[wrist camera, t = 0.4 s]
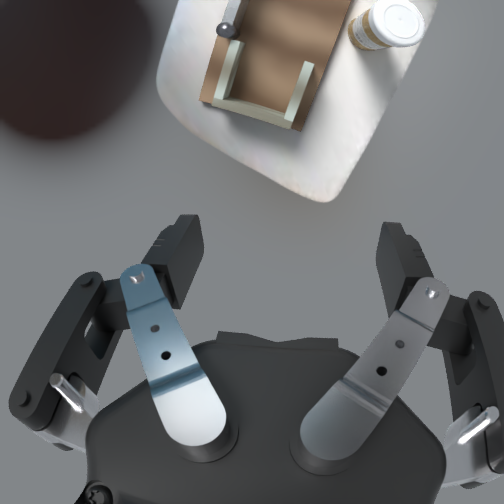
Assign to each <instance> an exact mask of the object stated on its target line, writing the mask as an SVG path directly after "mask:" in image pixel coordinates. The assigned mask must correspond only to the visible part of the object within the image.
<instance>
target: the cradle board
mask: <svg viewBox="0 0 504 504" xmlns="http://www.w3.org/2000/svg"><path fill="white" fill-rule="evenodd" d="M350 2H351V0H249V3H248V5H247V8H246V11H245V14H244V17H243V20H242V22H241V25H240V28H239V30H240V36H239V37H238V38H237V39H235V40H232V39H231V40H230V39H226V38H223V37H220V36H219V35H218V36H217V39H216V42H215V45H214V48H213V52H212V55H211V58H210V62H209V65H208V69H207V72H206V76H205V79H204V83H203V86H202V90H201V94H200V98H199V101H203V102H207V103H211V104H212V105H211V106H214V107H218V108H222V109H225V110H229V111H232V112H236V113H239V114H243V115H246V116H249V117H252V118H256V119H259V120H262V121H265V122H268V123H271V124H274V125H277V126H280V127H283V128H286V129H289V130H290V128H292V129H295V130H298V131H300V132H301V130H302V127H303V125H304V122H305V119H306V117H307V114H308V112H309V109H310V106H311V104H312V101H313V99H314V96H315V94H316V91H317V88H318V86H319V83H320V80H321V78H322V75H323V73H324V70H325V67H326V65H327V62H328V60H329V57H330V54H331V52H332V49H333V47H334V44H335V41H336V39H337V36H338V34H339V31H340V28H341V26H342V23H343V21H344V18H345V15H346V13H347V10H348V7H349V5H350Z"/></svg>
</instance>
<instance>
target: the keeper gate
mask: <svg viewBox="0 0 504 504" xmlns="http://www.w3.org/2000/svg"><path fill="white" fill-rule="evenodd" d="M248 3H249V0H229V2H228V4H227V7H226V10H225V13H224V16H223V19H222V22H221V23H220V24H219V25H218V26H217V28H216V32H217V34H218V35H219V36H220V37H223V38H226V39H230V40H231V39H232V40H235V39H237V38H238V37H239V36H240V30H239V28H240V25H241V22H242V20H243V17H244V14H245V11H246V8H247V5H248Z"/></svg>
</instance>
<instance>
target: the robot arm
mask: <svg viewBox="0 0 504 504" xmlns="http://www.w3.org/2000/svg"><path fill="white" fill-rule="evenodd" d="M203 253H204V243H203V237H202V231H201V226H200V220H199V217H198V215H180V216H179V218H178V219H177V221H176V223H175V224H174V225H170V226H168V227H167V228H165V229H164V230H163V231H161V233H160V234H159V236H158V237H157V240H155V242H154V243H153V246H152V247H151V248H150V250H149V251H148V253H147V254H146V256H145V257H144V259H143V260H142V262H141V264H136V265H133V266H130V267H129V268H127V269H126V270H125V271H124V272H123V273H122V274H121V276H120V278H119V279H114V280H107V281H104V280H103V278H102V276H101V275H100V274H99V273H98V272H88V273H85V274H83V275H81V276H80V277H78V278H77V279H76V280H75V282H74V283H73V285H72V286H71V288H70V289H69V291H68V292H67V294H66V295H65V297H64V299H63V300H62V301H61V303H60V305H59V306H58V308H57V309H56V311H55V313H54V314H53V316H52V318H51V319H50V321H49V323H48V324H47V326H46V328H45V330H44V331H43V333H42V335H41V336H40V338H39V340H38V342H37V343H36V345H35V347H34V349H33V351H32V353H31V354H30V356H29V358H28V360H27V362H26V364H25V366H24V368H23V370H22V372H21V374H20V376H19V378H18V380H17V382H16V384H15V386H14V388H13V390H12V392H11V395H10V398H9V409H10V412H11V413H12V415H13V416H14V417H16V418H17V419H18V420H19V421H21V422H22V423H23V424H25V425H26V426H27V427H28V428H29V429H30V430H31V431H33V432H34V433H35V434H37V435H38V436H40V437H41V438H43V439H44V440H46V441H47V442H49V443H52V444H54V445H55V446H56V447H58V448H60V449H62V450H65V451H68V450H73V449H76V450H79V451H81V452H84V453H86V455H87V465H88V466H87V468H88V469H87V482H86V486H85V488H84V490H83V492H82V494H81V495H80V497H79V498H78V500H77V501H76V502H75V503H74V504H434V501H435V499H436V496H437V494H438V491H439V490H440V488H445V487H450V486H455V485H461V486H462V487H463V488H466V489H472V488H475V487H477V486H480V485H482V484H484V483H487V482H489V481H491V480H493V479H495V478H497V477H499V476H501V475H503V474H504V322H503V319H502V316H501V314H500V311H499V309H498V306H497V304H496V302H495V301H494V299H492V297H490V296H489V295H488V294H486V293H484V292H481V291H474V292H472V293H471V294H470V295H469V297H468V299H467V300H466V299H463V298H459V297H455V296H452V295H450V293H449V289H448V287H447V286H446V285H445V284H444V283H443V282H442V281H440V280H438V279H436V278H434V276H433V274H432V271H431V269H430V267H429V264H428V262H427V260H426V258H425V256H424V253H423V252H422V249H421V247H420V245H419V243H418V241H416V239H414V238H413V237H412V236H411V235H406V234H405V232H404V229H403V227H402V225H401V223H394V222H383V224H382V228H381V233H380V238H379V242H378V247H377V253H376V266H377V270H378V274H379V278H380V282H381V286H382V290H383V294H384V299H385V303H386V308H387V312H388V317H389V319H388V321H387V322H386V324H385V325H384V326H383V328H382V329H381V331H380V332H379V333H378V335H377V336H376V337H375V339H374V340H373V341H372V342H371V344H370V345H369V346H368V348H367V349H366V350H365V351H364V353H363V354H362V355H361V357H359V356H358V355H356V354H355V353H353V352H350V351H348V350H345V349H342V348H339V347H338V339H336V338H334V339H333V338H303V339H297V340H291V341H284V342H273V341H270V340H266V339H263V338H260V337H256V336H253V335H249V334H245V333H232V332H223V331H222V332H221V331H218V334H217V338H216V340H211V341H206V342H203V343H200V344H197V345H195V346H193V347H190V345H189V343H188V341H187V339H186V337H185V335H184V333H183V331H182V329H181V327H180V325H179V323H178V321H177V318H176V316H175V314H174V312H173V310H172V309H181V307H182V304H183V302H184V300H185V297H186V295H187V292H188V290H189V287H190V285H191V283H192V281H193V278H194V276H195V274H196V271H197V269H198V267H199V264H200V262H201V260H202V257H203ZM90 321H91V322H92V325H91V327H90V329H89V330H88V332H87V335H86V336H85V337H84V333H85V329H86V327H87V325H88V323H89V322H90ZM125 329H131V332H132V334H133V338H134V341H135V345H136V348H137V351H138V354H139V356H140V360H141V363H142V366H143V368H144V371H145V374H146V377H147V379H145V380H144V381H143V382H141V383H140V384H138V385H137V386H135V387H134V388H133V389H131V390H130V391H128V392H127V393H126V394H124V395H122V396H121V397H120V398H118V399H117V400H115V401H114V402H112V403H111V404H109V405H108V406H106V407H105V408H103V409H102V410H101V411H100V412H99V400H98V398H97V393H98V390H99V387H100V385H101V383H102V380H103V377H104V375H105V372H106V370H107V367H108V365H109V362H110V360H111V358H112V355H113V353H114V350H115V348H116V346H117V343H118V341H119V339H120V337H121V334H122V332H123V330H125ZM426 346H430V347H433V348H437V349H441V350H442V352H443V357H444V362H445V368H446V373H447V379H448V384H449V391H450V398H451V406H452V414H453V423H452V424H451V425H450V426H449V428H448V429H447V432H446V435H445V443H444V447H443V446H442V444H441V442H440V441H439V440H438V439H437V437H436V436H435V435H434V434H433V433H432V432H431V431H430V430H429V429H428V428H427V426H426V425H425V424H424V423H423V422H422V421H421V420H420V419H419V418H418V417H417V416H416V415H415V414H414V412H413V411H412V410H411V409H410V408H409V407H408V406H407V405H406V404H405V403H404V402H403V401H402V399H401V398H400V397H399V396H398V393H399V391H400V390H401V388H402V387H403V385H404V383H405V382H406V380H407V379H408V377H409V375H410V374H411V372H412V370H413V369H414V367H415V365H416V364H417V362H418V360H419V358H420V356H421V355H422V353H423V351H424V349H425V347H426Z"/></svg>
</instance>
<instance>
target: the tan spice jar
mask: <svg viewBox="0 0 504 504" xmlns="http://www.w3.org/2000/svg"><path fill="white" fill-rule="evenodd" d="M424 33H425V21H424V18H423V16H422V14H421V12H420V11H419V10H418V9H417V7H416V6H415V5H413V4H412V3H411V2H409V1H407V0H379V1H377V2H376V3H375V4H374V5H373V6H372V7H371V8H370V9H369V10H367V11H366V12H364V13H363V14H361V15H360V16H359V17H357V18H356V19H354V20H352V21H351V23H350V24H349V26H348V36H349V38H350V40H351V41H352V43H353V44H354V45H355V46H357V47H358V48H360V49H363V50H367V51H371V50H376V49H382V48H388V47H408V46H412V45H415V44H417V43H418V42H419V41H420V40H421V39H422V38H423V36H424Z"/></svg>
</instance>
